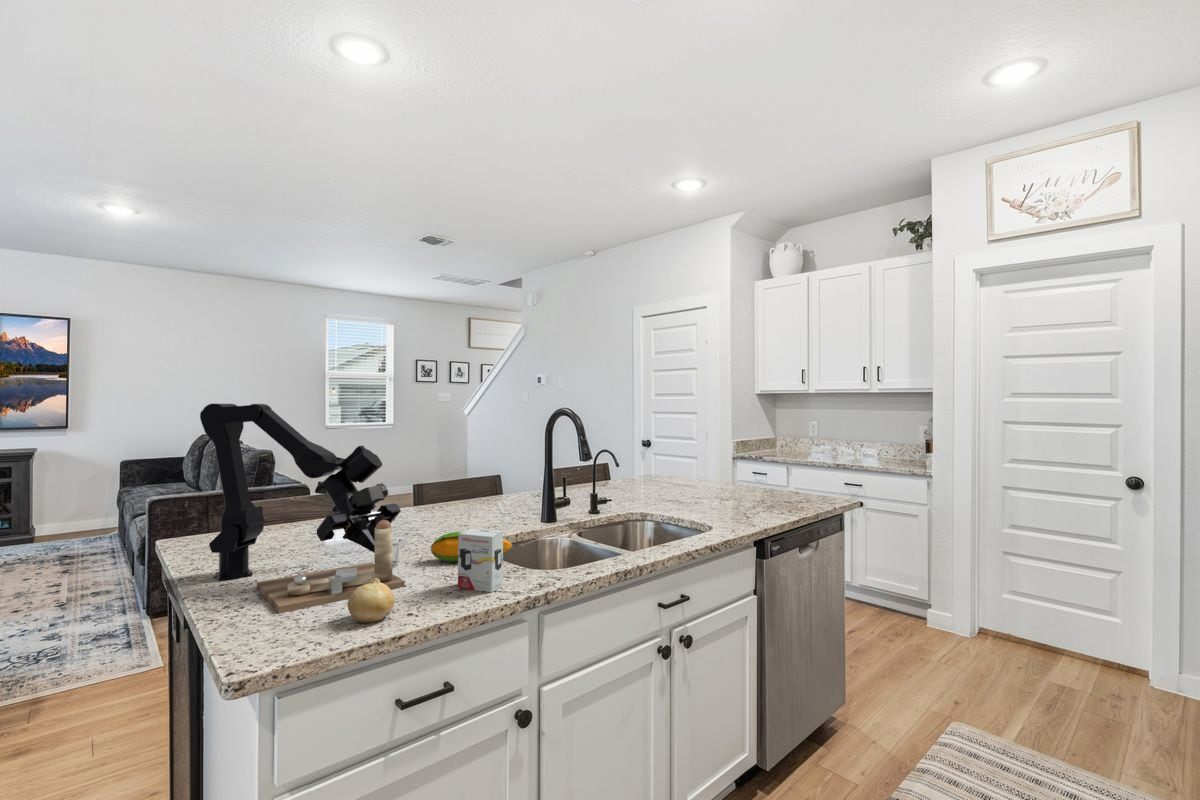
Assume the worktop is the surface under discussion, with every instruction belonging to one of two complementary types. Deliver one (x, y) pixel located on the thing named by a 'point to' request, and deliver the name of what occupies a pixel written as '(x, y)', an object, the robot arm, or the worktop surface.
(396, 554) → the adjustable wrench
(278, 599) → the walnut board
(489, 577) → the ink box
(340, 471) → the robot arm
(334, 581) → the keeper
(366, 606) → the onion
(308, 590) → the wooden crank lever
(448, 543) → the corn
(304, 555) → the worktop surface
